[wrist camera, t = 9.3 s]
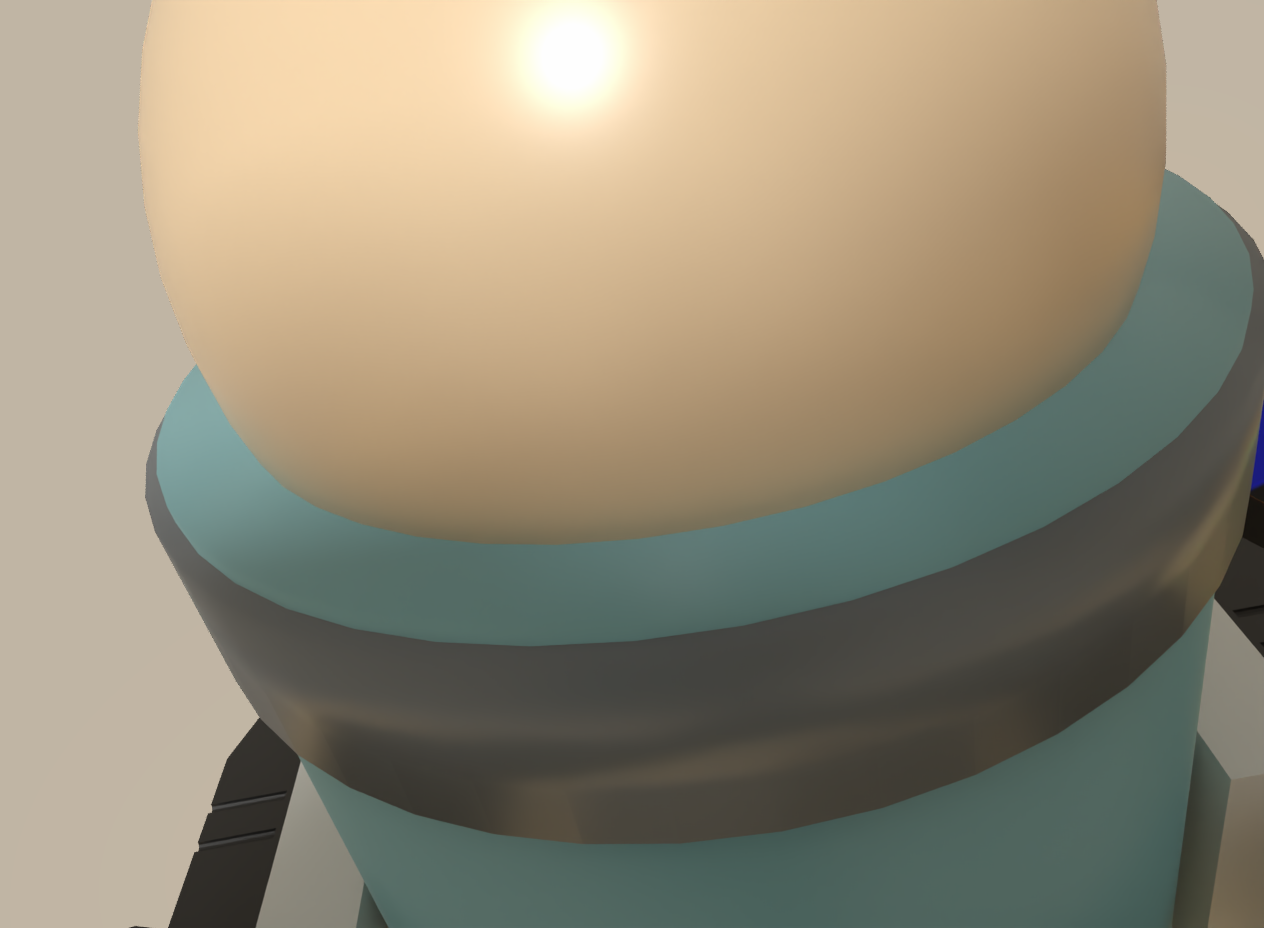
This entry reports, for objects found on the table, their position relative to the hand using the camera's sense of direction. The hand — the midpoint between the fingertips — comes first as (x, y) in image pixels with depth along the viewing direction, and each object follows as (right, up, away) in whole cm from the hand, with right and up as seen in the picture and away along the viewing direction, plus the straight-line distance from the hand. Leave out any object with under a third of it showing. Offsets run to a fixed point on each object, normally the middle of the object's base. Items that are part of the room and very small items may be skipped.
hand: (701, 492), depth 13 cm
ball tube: (+2, -8, -1) cm, 9 cm away
